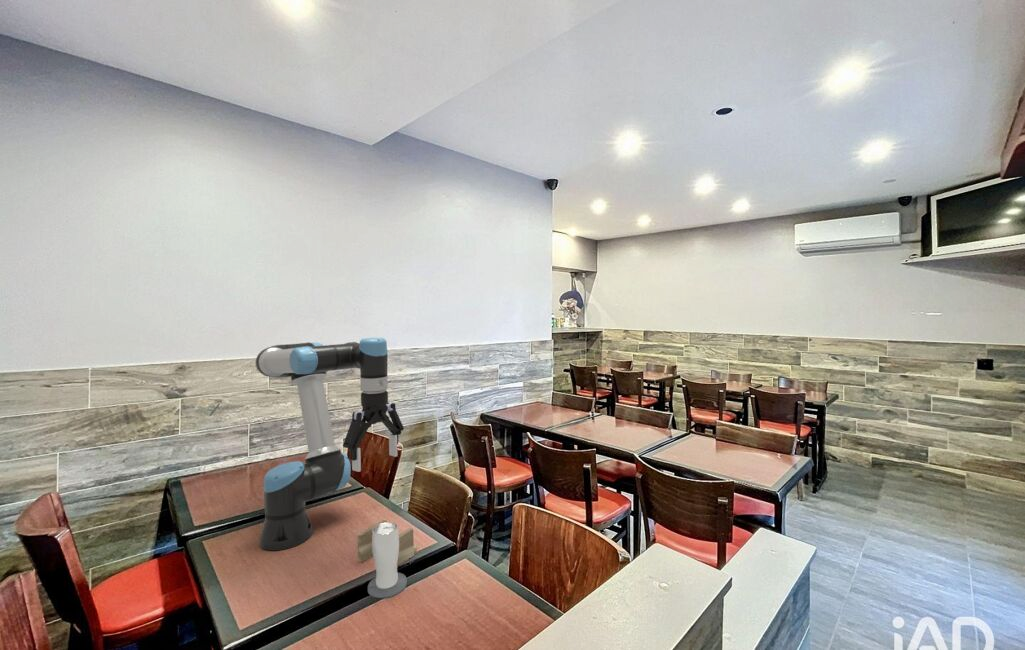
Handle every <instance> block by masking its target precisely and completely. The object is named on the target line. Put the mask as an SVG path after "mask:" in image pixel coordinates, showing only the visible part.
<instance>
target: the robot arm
mask: <svg viewBox="0 0 1025 650" xmlns="http://www.w3.org/2000/svg"><path fill="white" fill-rule="evenodd" d="M387 343H388V342H387V340H386V339H385V338H384V337H366V338H365V337H364V338H361V339H360V341H359V342H357V341H352V342H350V341H349V342H345V343H340V344H338V343H337V344H327V345H323V344H322V343H320V342H303V343H301V342H300V343H290V344H289V343H287V344H275V345H271V346H269V347H266V348H264V349H262V350H261V351H260V352H259V353H258V354H257V355H256V358H255V368H256V369H257V371H258V372H259V373H260V374H261V375H262V376H265V377H268V378H276V379H278V378H280V379H281V378H288V377H289V378H290V380H291V383H292V384H294V385H295V386H297V391H298V399H299V402H300V403H299V404H300V408H301V415H302V421H303V422H302V423H303V426H304V432H305V439H306V445H307V450H308V453H307V455H306V457H305V458H304V461H305V464H304V463H303V462H302V461H298V460H297V461H295V460H294V461H291V462H290V461H288V462H284V463H281V464H277V466H274V467H273V468H271V469H269V470H268V472H266V474H265V475H264V477H263V487H262V489H263V497H264V498H263V501H264V517H265V518H264V522H263V526H262V527H261V528H262V529H261V533H260V536H259V546H260V548H261V549H263V550H266V551H283V550H286V549H289V548H290V549H291V548H293V547H296V546H298V545H301V544H302V543H304V542H305V541H307V540H308V539H309V538H310V537H312V534H313V524H312V522H311V519H310V517H309V515H308V513H307V510H306V501H309V500H313V499H315V498H317V497H318V498H319V497H322V496H325V495H328V494H330V493H335V492H337V491H338V490H342V489H344V488H345V487H346V486H347V485H348V483H349V482H350V478H351V473H352V472H351V471H354V472H358V473H359V472H361V471H362V470H361V469H362V462H361V461H362V459H361V455H362V454H361V447H359V446H360V444H361V442H362V441H363V439H364V437H365V435H366V434H367V431H368V430H369V428H371V426H372V425H375V424H378V423H382V424H383V425H384V426H385V427H386V429H388V431H389V432H390V433H388V451H389V453H388V454H389V456H391V457H395V458H396V457H398V445H399V435H401V434H402V431H404V429H405V428H404V425H403V423H402V421H401V419H400V417H399V414H398V412H397V407H396V404H395V402H394V403H393V402H389V391H387V390H388V389H389V388H388V385H389V384H388V379H389V378H388V354H389V353H388V352H389V351H388V345H387ZM348 369H359V370H360V371H359V373H360V391H361V393H360V405H361V407H362V409H361V411H353V412H352V416H351V417H352V418H351V421H350V425H349V428H348V430H347V433H346V435H345V439H344V440H343V444H342V447H343V448H346V449H349V457H348V455H347V454H345V453H342V451H341V448H339V447H338V446H336V443H335V439H334V433H333V427H332V423H331V416H330V411H329V406H328V402H327V395H326V391H325V389H326V388H325V385H324V380H325V378H326V377H327V373H328V372H331V371H332V372H333V371H339V370H348ZM351 468H352V469H351Z"/></svg>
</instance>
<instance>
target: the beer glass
mask: <svg viewBox="0 0 1025 650" xmlns="http://www.w3.org/2000/svg"><path fill="white" fill-rule="evenodd" d="M399 534H400V533H399V525H398V523H396V522H393V521H387V522H384V523H381V524H378V525H376V526H375V527H374V528H373V529H372V552H373V556H372V558H373V562H374V565H375V570H376V573H375V574H376V576H375V577H376V582H375V587H376V588H377V589H378V590H381V591H386V590H390V589H393V588H394V587H396V586H397V585H398V583H399V577H398V573H399V572H398V567H397V562H398V555H399ZM397 572H398V573H397Z"/></svg>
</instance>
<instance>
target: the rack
mask: <svg viewBox="0 0 1025 650" xmlns="http://www.w3.org/2000/svg"><path fill="white" fill-rule="evenodd" d="M384 522H388V520H387V519H381V520H380V521H378V522H377V523H375V524H373V525H371V526H369V527H368V528H366V529H364V530H362V531H361V532H359V533H357V534H356V537H357V538H356V539H357V540H356V541H357V561H358V562H359V563H363V562H365V561H366V560H368V559H370V558H371V557H373V552H372V529H373V528H374V527H375V526H376V525H378V524H381V523H384ZM414 540H415V539H414V528H411V527H408V528H407V529H405V530H403V531H402V532H401V533H399V555H398V562H397V568H398V566H399V565H400V564H401V565H403V564H404V563H405V561H406V562H407V561H408V560H410V559H411V558H412V557H414V556H415V555H417V554H416V553H418V550H417V546H416V545H414V543H415V541H414ZM409 558H410V559H409ZM402 563H403V564H402ZM401 565H400V566H401ZM400 566H399V567H400Z"/></svg>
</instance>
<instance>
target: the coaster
mask: <svg viewBox="0 0 1025 650" xmlns="http://www.w3.org/2000/svg"><path fill="white" fill-rule="evenodd" d="M397 573H398V577H399V583H398V585H397V586H396V587H394V588H393V589H390V590H386V591H381V590H378V589H377V588H376V587H375V582H376V576H375V577H374V578H372V579H371V580H370V581H369V583H368V585H367V593H368V595H369V596H370V597H372V598H376V599H388V598H392V597H395V596H397V595H398V594H400V593H401V592H403V591H404V590H405V588H406V587H407V585H408V578H407V577H406V575H405V574H404V573H401V572H398V571H397Z"/></svg>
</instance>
